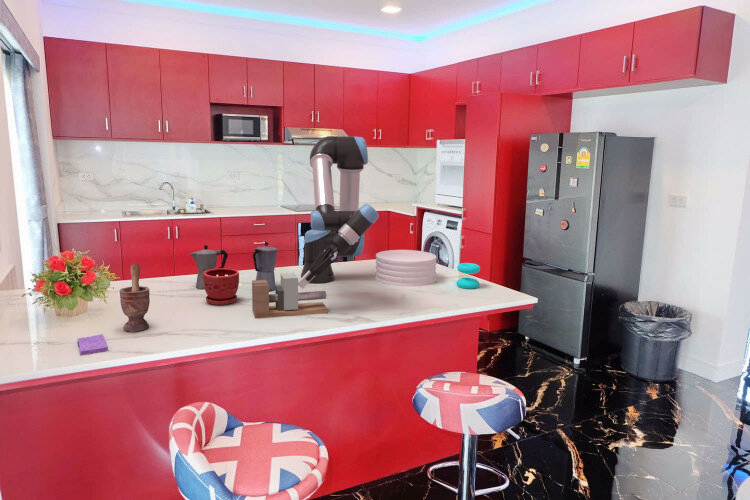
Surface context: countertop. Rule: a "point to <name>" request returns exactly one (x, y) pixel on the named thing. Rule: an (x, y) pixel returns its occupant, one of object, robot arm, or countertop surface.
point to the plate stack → (405, 268)
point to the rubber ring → (279, 297)
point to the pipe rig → (263, 299)
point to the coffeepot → (207, 262)
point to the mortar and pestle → (135, 302)
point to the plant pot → (221, 285)
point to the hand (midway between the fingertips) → (299, 286)
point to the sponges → (92, 344)
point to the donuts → (468, 269)
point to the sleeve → (290, 290)
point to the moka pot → (265, 264)
